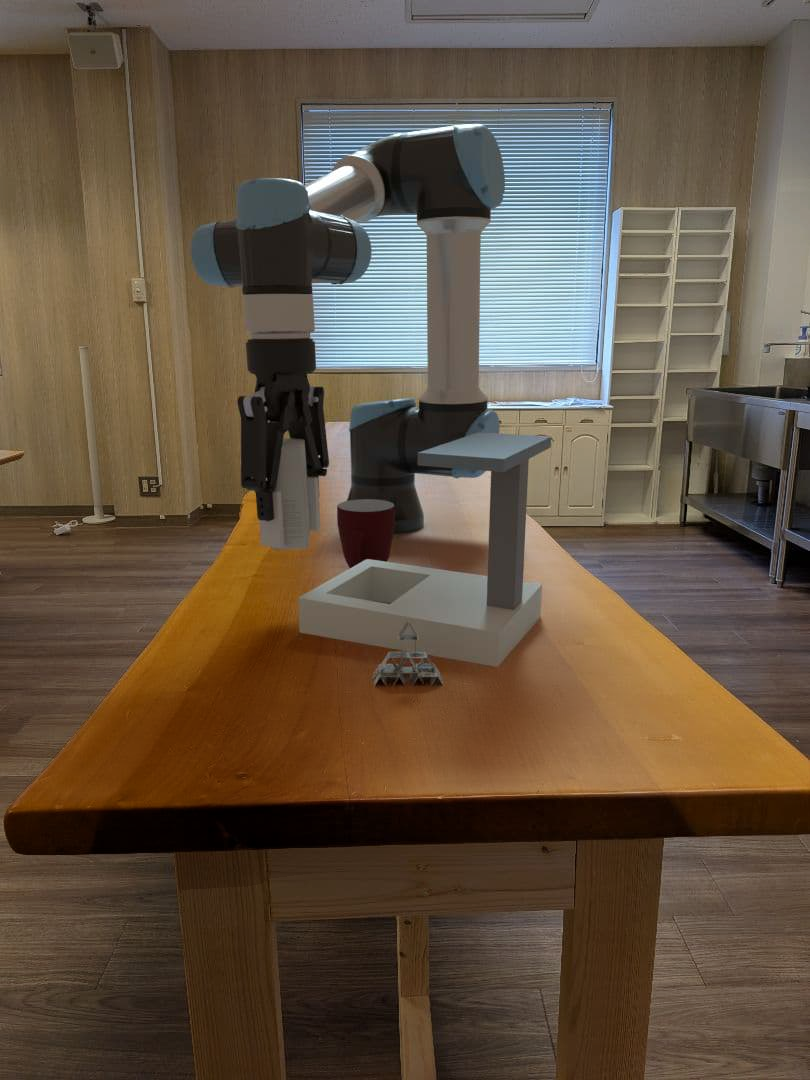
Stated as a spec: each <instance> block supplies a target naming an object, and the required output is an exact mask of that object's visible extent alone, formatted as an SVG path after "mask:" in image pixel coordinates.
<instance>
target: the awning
mask: <svg viewBox="0 0 810 1080" xmlns="http://www.w3.org/2000/svg"><path fill="white" fill-rule="evenodd" d="M551 447H552V436H549V435H531V434H530V435H529V434H514V433H513V434H512V433H511V434H510V433H499V434H497V433H480V432H478V433H475V434H472V435H469V436H466V437H463V438H460V439H457V440H454V441H451V442H448V443H445V444H442V445H439V446H436V447H433V448H430V449H427V450H424V451H421V452H418V465H420V466H432V467H445V468H457V469H469V470H482V471H486V472H490V487H489V488H490V491H489V492H490V494H489V496H490V497H489V519H488V521H489V523H488V554H487V555H488V556H487V557H488V558H487V576H488V579H487V606H491V607H498V608H504V609H510V610H514V609H515V608H516V607H517V606H518V605H519V604H520V603H521V602H522V591H523V581H524V569H525V568H524V566H525V565H524V563H525V547H526V542H525V541H526V523H527V522H526V521H527V505H528V504H527V503H528V481H529V460H530V459H531V458H533V457H536V456H537V455H539V454H540V453H543V452H545V451H547V450H549V449H551Z"/></svg>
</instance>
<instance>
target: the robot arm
mask: <svg viewBox="0 0 810 1080" xmlns="http://www.w3.org/2000/svg"><path fill="white" fill-rule="evenodd" d="M503 162H504V161H503V157H502V153H501V149H500V146H499V144H498V141H497V139H496V137H495V134H493V132H492V131H491V129H490V128H489V127H487V126H485V125H484V124H481V123H473V124H472V123H471V124H461V123H456V124H454V125H448V126H443V127H434V128H428V129H423V130H417V131H409V132H399V133H394V134H391V135H389V136H385V137H382V138H381V139H378V140H376V141H373V142H371V143H370V144H367V145H365V146H363V147H362V148H359V149H357V150H356V151H353V152H351V153H350V154H348V155H345V156H344V157H341V158H340V159H339V160H337V162H336V163H335V164H334V166H333V167H332V169H331V171H330V172H328V173H326V174H324V175H322V176H320V177H318V178H316V179H314V180H312V181H310V182H308V183H306V184H303V183H302V182H300V181H298V180H295V179H290V178H282V177H277V178H276V177H265V178H263V177H262V178H260V177H259V178H253V179H252V178H251V179H247V180H245V181H243V182H242V183H240V185H239V186H238V187H237V189H236V194H235V195H236V218H235V219H232V220H229V221H224V222H223V221H218V220H217V221H214V222H213V223H207V224H203V225H201V226H199V227H198V228H197V229H196V230H195V231H194V233H193V234H192V238H191V242H190V247H189V248H190V250H189V251H190V259H191V261H192V265H193V266H194V270H195V271H196V273H197V275H198V277H199V278H200V279H201V280H202V281H203V282H205V283H206V284H208V285H210V286H214V287H227V288H230V289H231V288H234V287H241V292H242V299H243V301H242V302H243V316H244V330H245V331H244V332H245V333H247V334H248V335H249V334H251V335H250V337H251V338H250V339H249V338H248V339H247V340H246V341H247V342H245V353H246V366H247V371H248V372H249V374H252V375H254V376H255V378H256V381H255V387H254V393H252V394H250V395H240V396H238V398H237V400H236V401H237V407H238V412H239V415H240V486H241V488H242V489H247V491H252V492H253V491H254V493H255V500H256V502H255V503H256V515H257V519H258V521H259V534H260V535H259V536H260V546H261V547H262V546H263V547H267V548H272V547H274V548H283V547H284V531H283V514H282V498H281V491H278V490H275V489H276V484H277V477H278V471H279V464H280V457H281V448H282V444H283V438H285V437H284V436H285V433H287V432H288V436H289V438H294V439H303V440H304V441H305V451H306V468H307V486H308V503H309V520H310V531H316V532H317V531H321V529H322V528H321V513H320V512H321V511H320V510H321V509H320V483H319V481H320V479H319V477H326V476H327V474H328V469H327V468H328V467H329V465H330V457H329V450H328V439H327V430H326V422H325V412H324V400H325V399H324V398H325V389H324V387H323V386H313V385H311V384H310V382H309V379H308V374H311V373H312V374H313V372H315V371H316V369H317V361H316V360H317V359H316V358H317V357H316V341H314V339H313V338H311V335H310V334H311V333H314V332H315V331H316V330H315V329H316V328H315V312H314V311H315V309H314V298H313V297H314V295H313V284H331V285H343V284H351V283H353V282H356V281H357V280H359V279H361V278H362V277H363V276H364V274H365V273H366V272H367V270H368V268H369V266H370V263H371V259H372V252H373V251H372V244H371V240H370V236H369V234H368V233H367V231H366V229H365V228H364V227H363V226H362V225H361V224H360V223H366V222H369V221H372V220H374V219H375V218H377V217H382V216H393V215H395V216H396V215H416V225H417V226H418V227H419V228H420V229H421V230H422V231H423V233H424V234H425V235H426V315H427V317H426V321H427V322H426V323H427V324H426V327H427V328H426V329H427V330H426V334H427V336H426V337H427V339H426V340H427V341H426V343H427V349H426V350H427V387H426V390H425V391H424V392H423V393H422V395H420V397H419V398H418V406H417V403H416V401H415V398H414V397H410V398H409V397H408V398H406V397H404V398H395V399H385V400H378V401H370V402H365V403H364V402H363V403H359V404H358V403H357V404H356V405H354V406H353V407H352V409H351V411H350V416H349V417H350V419H349V428H348V432H349V441H350V443H349V447H350V451H349V452H350V473H351V474H350V477H351V479H350V480H351V481H350V482H351V483H350V488H349V489H350V490H349V492H348V495H347V500H346V501H350V500H359V499H376V500H384V501H389V502H391V503H393V504H394V505H395V526H394V532H393V535H401V534H408V533H413V532H417V531H419V530H421V529H423V528H424V526H425V523H424V522H425V521H424V520H425V519H424V518H425V515H424V511H423V510H424V509H423V508H422V504H421V501H420V498H419V495H418V492H417V488H416V484H415V481H416V480H415V475H416V474H420V475H431V476H440V477H441V476H442V477H451V478H453V479H460V478H466V479H467V478H468V479H470V478H471V479H476V478H479V477H480V476H482V475H484V474H485V473H486V472H487V471H482V470H469V469H457V468H445V467H432V466H420V465H418V452H421V451H424V450H427V449H430V448H433V447H436V446H439V445H442V444H445V443H448V442H451V441H454V440H457V439H460V438H463V437H466V436H469V435H472V434H475V433H478V432H480V433H497V434H500V429H501V428H500V426H501V425H500V421H499V415H498V413H497V412H496V411H495V410H493V409H491V408H488V396H487V395H486V394H485V393H484V392H483V391H482V390H481V389H480V387H479V384H480V381H479V379H480V378H479V377H480V324H481V323H480V321H481V320H480V316H481V315H480V313H481V311H480V309H481V308H480V307H481V243H482V242H481V241H482V240H481V239H482V233H483V231H484V230H485V229H486V227H488V226H489V224H490V223H491V210H492V209H496V208H498V207H500V205H501V204H502V203H503V200H504V194H505V188H506V178H505V168H504V163H503Z"/></svg>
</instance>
